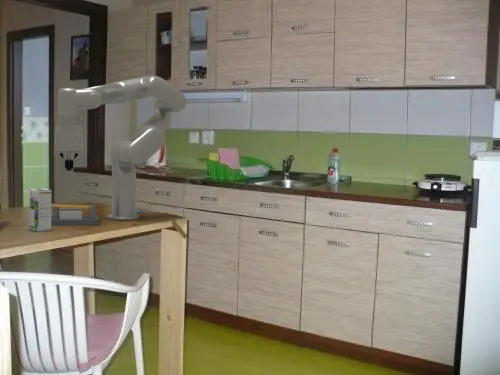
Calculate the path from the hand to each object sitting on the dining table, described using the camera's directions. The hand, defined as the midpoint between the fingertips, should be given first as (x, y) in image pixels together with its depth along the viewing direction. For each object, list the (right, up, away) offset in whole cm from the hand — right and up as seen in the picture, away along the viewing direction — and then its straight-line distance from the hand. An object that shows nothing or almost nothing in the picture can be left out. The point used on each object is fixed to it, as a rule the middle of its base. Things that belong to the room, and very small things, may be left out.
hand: (69, 170), depth 203 cm
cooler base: (+1, -20, +3) cm, 20 cm away
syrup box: (-6, -22, -12) cm, 26 cm away
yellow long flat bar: (+1, -14, +2) cm, 15 cm away
